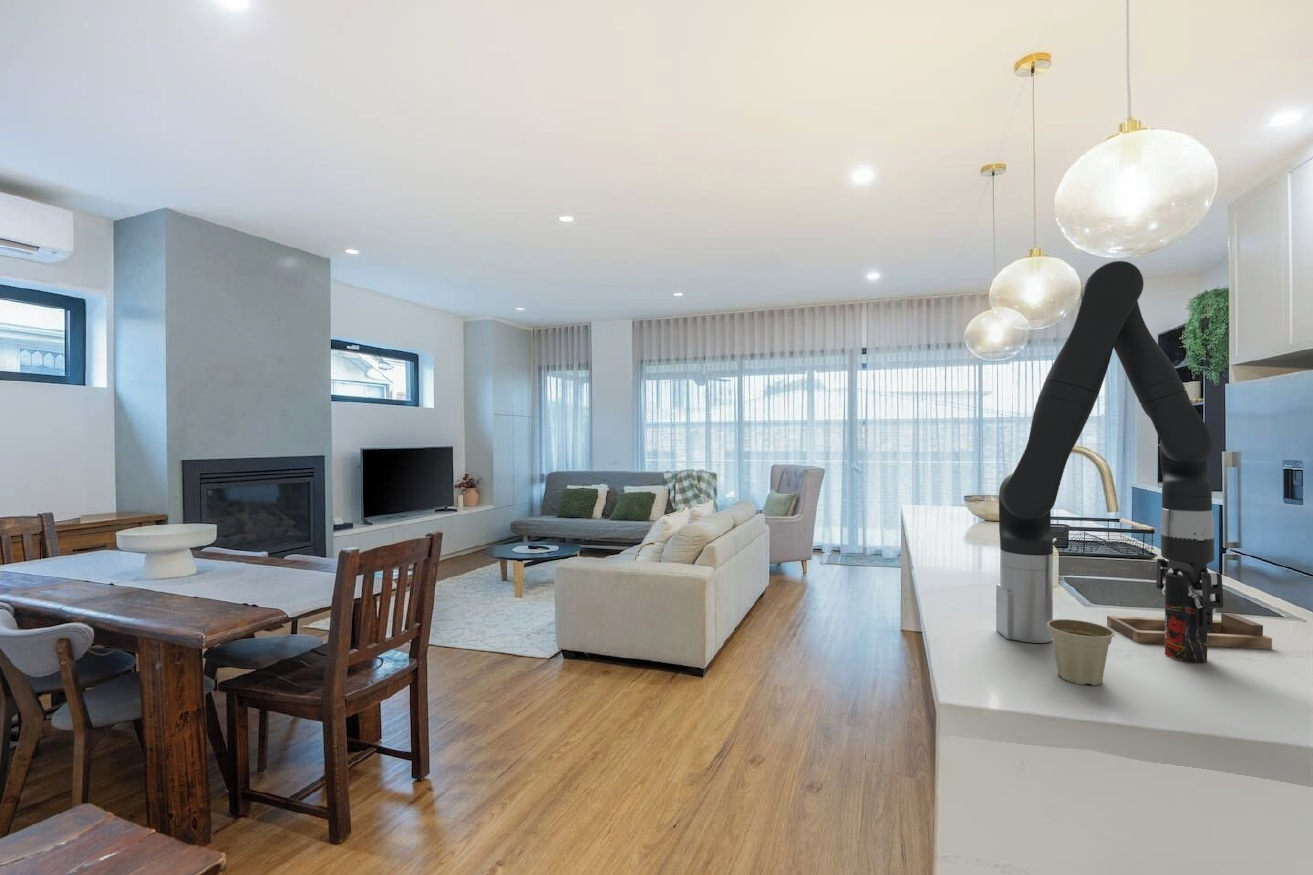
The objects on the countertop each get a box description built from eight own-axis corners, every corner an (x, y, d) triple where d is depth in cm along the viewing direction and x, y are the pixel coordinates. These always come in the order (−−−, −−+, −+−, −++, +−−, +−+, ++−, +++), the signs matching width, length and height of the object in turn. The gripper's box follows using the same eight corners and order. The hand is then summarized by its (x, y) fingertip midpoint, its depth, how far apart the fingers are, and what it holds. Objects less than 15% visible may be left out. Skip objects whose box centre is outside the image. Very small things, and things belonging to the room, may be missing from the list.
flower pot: (1117, 695, 99) (1117, 640, 99) (1046, 682, 104) (1046, 630, 104) (1112, 675, 107) (1112, 624, 107) (1046, 664, 112) (1047, 616, 112)
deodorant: (1215, 664, 112) (1215, 580, 112) (1176, 661, 113) (1177, 578, 113) (1193, 652, 118) (1194, 572, 118) (1157, 650, 119) (1158, 571, 119)
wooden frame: (1137, 642, 124) (1137, 622, 124) (1107, 625, 134) (1107, 606, 134) (1272, 648, 120) (1272, 627, 120) (1229, 630, 131) (1229, 611, 131)
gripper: (1140, 527, 123) (1142, 610, 123) (1190, 540, 109) (1191, 633, 109) (1184, 528, 122) (1185, 611, 122) (1239, 540, 108) (1240, 635, 108)
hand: (1188, 622), depth 115 cm, fingers open, 8 cm apart
